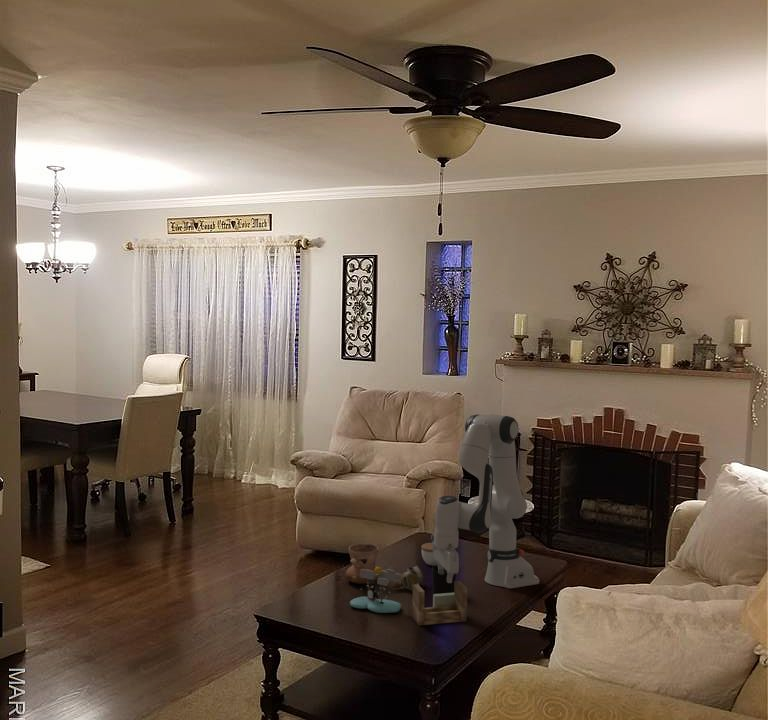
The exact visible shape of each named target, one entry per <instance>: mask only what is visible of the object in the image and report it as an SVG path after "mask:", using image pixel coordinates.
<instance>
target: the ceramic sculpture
mask: <svg viewBox="0 0 768 720" xmlns="http://www.w3.org/2000/svg"><path fill="white" fill-rule="evenodd" d="M401 574H402V576H401V577H399V581H398V582H393V584H392V585H391V588H393V589H400V588H403V589H405V590H410V591H412V592H413V584H419V586H420V585H421V584H422V582H423V580H424V575H423V573H422V571H421V569H420V568H419V566H418V565H415V566H414V567H412V566H411V567H408V568H407V569H406V570H405V571H403V573H401Z"/></svg>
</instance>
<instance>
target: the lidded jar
mask: <svg viewBox="0 0 768 720" xmlns="http://www.w3.org/2000/svg"><path fill="white" fill-rule="evenodd" d="M432 543H433V541H432V542H426V543H423V544H422V545H421V546H420V547H421V557H422V559H423V561H424V562H425V563H426V564H427V565H429V566H435V565H437V561H436V560H435V559H434V557H433V548H432Z"/></svg>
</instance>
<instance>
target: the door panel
mask: <svg viewBox="0 0 768 720" xmlns="http://www.w3.org/2000/svg"><path fill="white" fill-rule="evenodd" d="M452 605H454V593H443V594H434V593H433V594H432V607H440V606H452Z"/></svg>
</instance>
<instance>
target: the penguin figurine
mask: <svg viewBox="0 0 768 720" xmlns="http://www.w3.org/2000/svg"><path fill="white" fill-rule="evenodd" d="M375 567H376V568H375V569H374V571H372V570H366V569H361V570H360V572H361V573H360V577H362V578H367V579H368V582H367V584H365V589H366V593H367V596H359V597H356V598H353V599H351V600H350V601H349V604H350V606H351V607H352V608H356V609H368V610H369V611H371V612H374V613H379V614H389V613H390V614H391V613H398V612H400V610H401V607H402V603H400V602H398V601H394V600H391V599H387V597H388V595H387V594H386V595H385V597H384V598H383V594H384V593H383V592H384V590H385V587H387V586H388V585H389V584H390V582H393V583H394V582H398V581H399V579H400V578H401V576H402V574H403V573H399V572H396V570H395V569H392V568H387V569H385V570H384V569H382V567H381V566H375ZM374 576H375V577H380V578H378V579H377V581H375V578H374ZM376 584H377V585H379V589H380V590H381V591H379V592H377V590H376V588H377V585H376ZM384 586H385V587H384ZM360 590H361V591H362V588H360ZM388 593H389V594H391V592H390V590H389V591H388ZM379 595H380V597H379Z"/></svg>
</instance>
